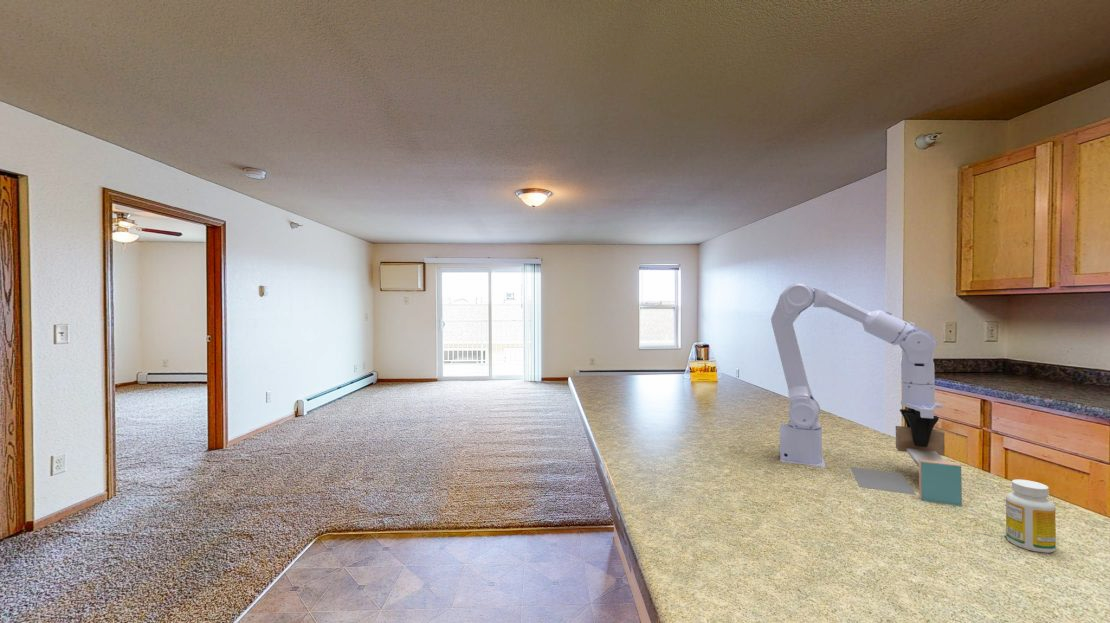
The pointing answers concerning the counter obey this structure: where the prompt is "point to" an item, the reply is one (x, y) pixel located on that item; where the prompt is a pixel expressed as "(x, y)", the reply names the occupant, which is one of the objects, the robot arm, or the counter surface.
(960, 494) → the tile
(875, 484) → the tool rest
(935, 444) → the brown grey l-shaped piece
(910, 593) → the counter surface
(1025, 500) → the supplement bottle
